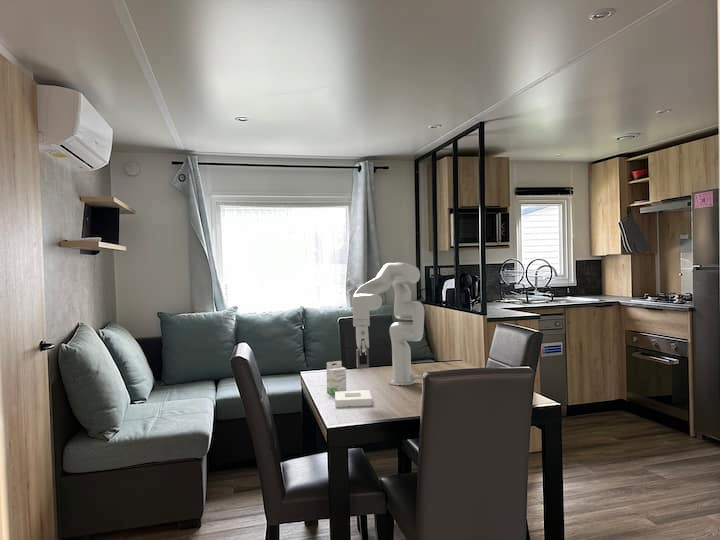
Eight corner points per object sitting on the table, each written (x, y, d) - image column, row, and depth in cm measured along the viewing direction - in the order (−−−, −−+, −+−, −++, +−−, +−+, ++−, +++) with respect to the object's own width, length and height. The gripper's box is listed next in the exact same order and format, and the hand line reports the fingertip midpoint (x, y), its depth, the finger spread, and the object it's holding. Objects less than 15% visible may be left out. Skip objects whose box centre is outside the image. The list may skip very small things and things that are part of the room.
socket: (369, 396, 239) (369, 389, 239) (372, 405, 223) (371, 398, 223) (335, 397, 238) (334, 391, 238) (335, 407, 222) (335, 400, 222)
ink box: (330, 394, 245) (329, 363, 245) (326, 392, 249) (325, 362, 249) (347, 392, 249) (346, 361, 249) (342, 390, 253) (341, 360, 253)
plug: (367, 366, 232) (367, 344, 232) (368, 368, 227) (368, 346, 227) (356, 366, 231) (356, 345, 231) (357, 368, 226) (357, 347, 226)
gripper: (371, 324, 221) (373, 366, 221) (367, 320, 238) (368, 359, 238) (354, 324, 220) (355, 367, 220) (351, 321, 237) (352, 360, 237)
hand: (362, 362), depth 229 cm, fingers closed on plug, 5 cm apart
